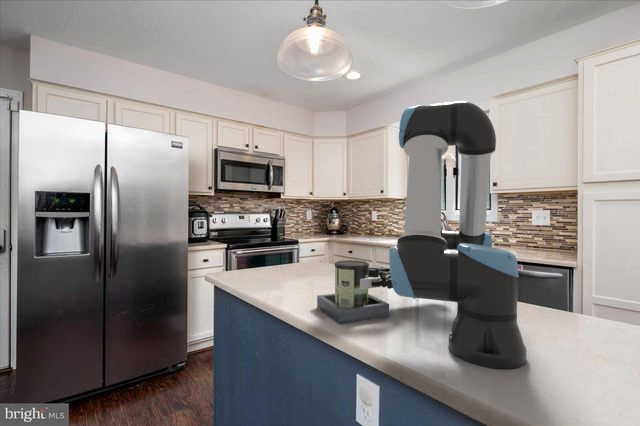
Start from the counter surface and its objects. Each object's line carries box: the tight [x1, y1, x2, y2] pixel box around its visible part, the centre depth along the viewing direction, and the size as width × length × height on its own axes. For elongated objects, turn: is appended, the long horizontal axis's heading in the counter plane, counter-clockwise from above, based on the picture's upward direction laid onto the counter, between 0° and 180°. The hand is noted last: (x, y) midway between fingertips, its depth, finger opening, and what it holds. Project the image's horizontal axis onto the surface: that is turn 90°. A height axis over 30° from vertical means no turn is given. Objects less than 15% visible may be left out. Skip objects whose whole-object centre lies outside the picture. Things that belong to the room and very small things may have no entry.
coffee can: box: [334, 259, 370, 308], centre depth 98 cm, size 10×10×14 cm
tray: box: [316, 293, 390, 325], centre depth 98 cm, size 16×16×4 cm
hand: (349, 279), depth 97 cm, fingers open, 13 cm apart
